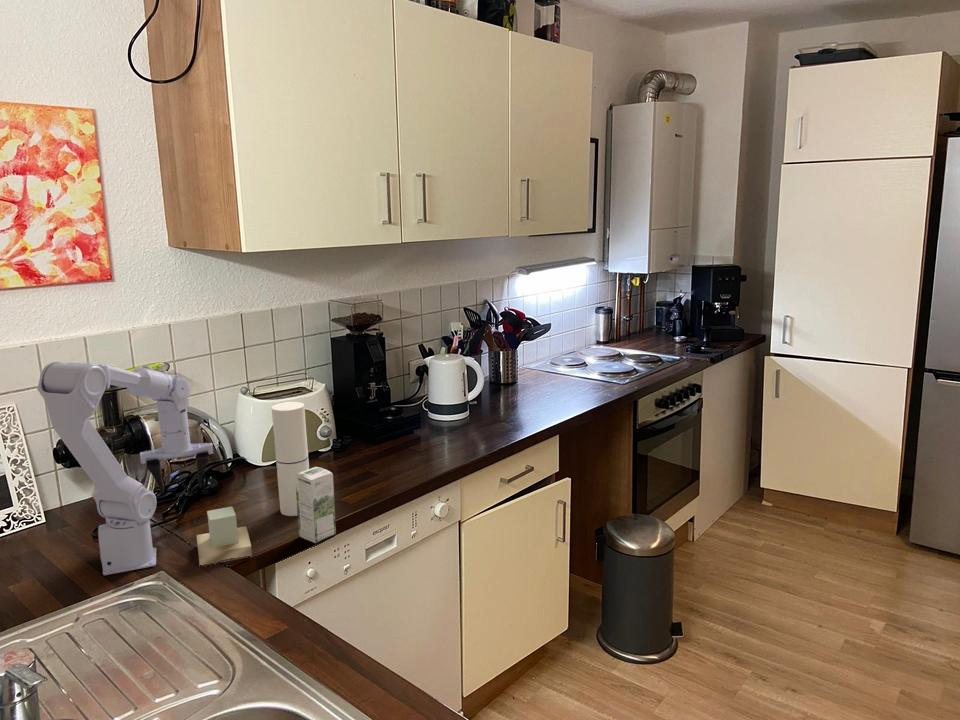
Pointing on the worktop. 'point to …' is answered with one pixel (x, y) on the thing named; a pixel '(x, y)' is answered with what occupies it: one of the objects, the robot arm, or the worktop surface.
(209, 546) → the birch base
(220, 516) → the sage block
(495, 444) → the worktop surface
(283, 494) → the cylindrical container
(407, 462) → the worktop surface
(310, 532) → the syrup box
